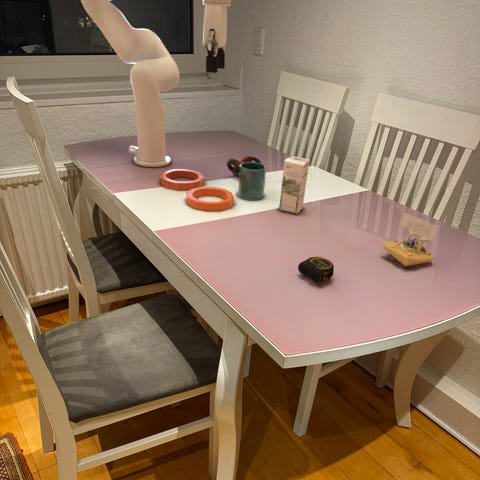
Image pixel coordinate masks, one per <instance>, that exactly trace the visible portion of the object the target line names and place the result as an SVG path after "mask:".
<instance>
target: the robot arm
mask: <svg viewBox="0 0 480 480" xmlns="http://www.w3.org/2000/svg"><path fill="white" fill-rule="evenodd" d="M110 1H111V0H80V2H81V4H82V7H83V9H84V10H85V12H86V13H87V14H88V16H89V17H90V18H91V20H92V21H93V22H94V24H96V26H97V27H98V29H99V30H100V32H102V35H103V36H104V38H105V39H106V40H107V42H108V43H109V45H110V46H111V48H112V49H113V51H114V53H116V55H117V57H118V58H119V59H120V60H121V61H122V62H123V63H125V64H130V65H131V64H133V65H132V67H131V69H130V73H129V78H130V84H131V88H132V93H133V98H134V109H135V110H134V111H135V124H136V140H137V141H136V142H137V146H136V145H135V146H134V145H129V146H128V153H129V154H134V155H135V156H134V157H133V162H134V163H135V164H136V165H137V166H141V167H145V168H160V167H165V166H168V165H170V164H171V162H172V161H171V160H172V159H171V157H169V156H168V155H167V145H166V143H167V141H166V138H167V137H166V111H165V110H166V109H165V104H164V101H163V99H162V96H161V93H162V92H166V91H170V90H174V89H175V88H176V87H177V86H178V84H179V82H180V70H179V66H178V65H177V63H176V61H175V60H174V58H173V57H172V55H171V54H170V52H169V50H168V49H167V48H166V46H165V45H164V43H163V41H162V40H161V38H160V37H159V36H158V35H157V34H156V33H155V32H153V31H152V30H150V29H149V28H135V27H133V26H132V25H131V24H130V23H129V21H128V20H127V18H126V17H125V15H124V14H123V13H122V11H121V10H120V9H119V8H117V6H115V5H114V4H113V3H112V2H110ZM231 2H232V0H202V5H203V6H204V13H203V29H202V32H203V33H202V46H203V47H204V48H205V49H206V52H205V72H206V73H213V74H216V73H218V69H220V70H221V69H222V70H224V69H225V68H226V67H225V66H226V48H225V46H226V45H227V37H228V35H227V34H228V7H231V4H232V3H231Z"/></svg>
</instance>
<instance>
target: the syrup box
mask: <svg viewBox="0 0 480 480" xmlns="http://www.w3.org/2000/svg"><path fill="white" fill-rule="evenodd" d="M309 167H310V159H309V158H303V157H299V156H295V155H290V156H288V157H287V158H285V160H284V161H283V169H282V180H281V187H280V196H279V197H280V198H279V205H278V206H279V207H278V210H279V211H281V212H287V213H291V214H294V215H295V214H296V215H298V214H299V212H301V210H302V209H303V208H304V203H305V193H306V187H307V181H308V174H309V169H310V168H309Z"/></svg>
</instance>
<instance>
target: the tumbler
mask: <svg viewBox="0 0 480 480" xmlns="http://www.w3.org/2000/svg"><path fill="white" fill-rule="evenodd" d="M261 163H262V162H261ZM261 163H256V162H255V161H252V162H245V163H241V164H240V170H239V173H238V188H237V196H238V197H239V198H241V199H242V200H248V201H258V200H261V199H263V198H264V194H265V188H266V187H265V186H266V174H267V166H266V165H265V164H263V163H262V164H261Z"/></svg>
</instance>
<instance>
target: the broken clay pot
mask: <svg viewBox="0 0 480 480" xmlns="http://www.w3.org/2000/svg"><path fill="white" fill-rule="evenodd" d="M245 162H256V163H261V164H263V163H262V161H261V160H260V159H259V158H257V157H256V156H253V155H244V156H243V157H242V158H241V159H239V160H238V159H235V158H230V159H228V160H227V162H226V167H227V169H228V171H230V172H231V173H232V175H233V176H238V175H239V170H240V164H241V163H245Z"/></svg>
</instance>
